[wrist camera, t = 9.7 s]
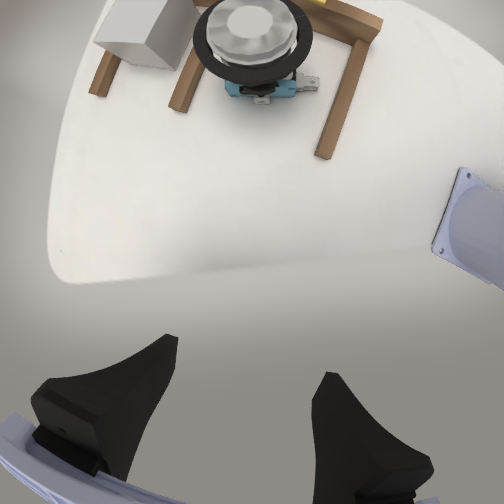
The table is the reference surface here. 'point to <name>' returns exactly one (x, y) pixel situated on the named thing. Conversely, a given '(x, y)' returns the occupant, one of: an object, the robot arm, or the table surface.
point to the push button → (256, 47)
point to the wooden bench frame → (322, 21)
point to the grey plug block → (148, 31)
